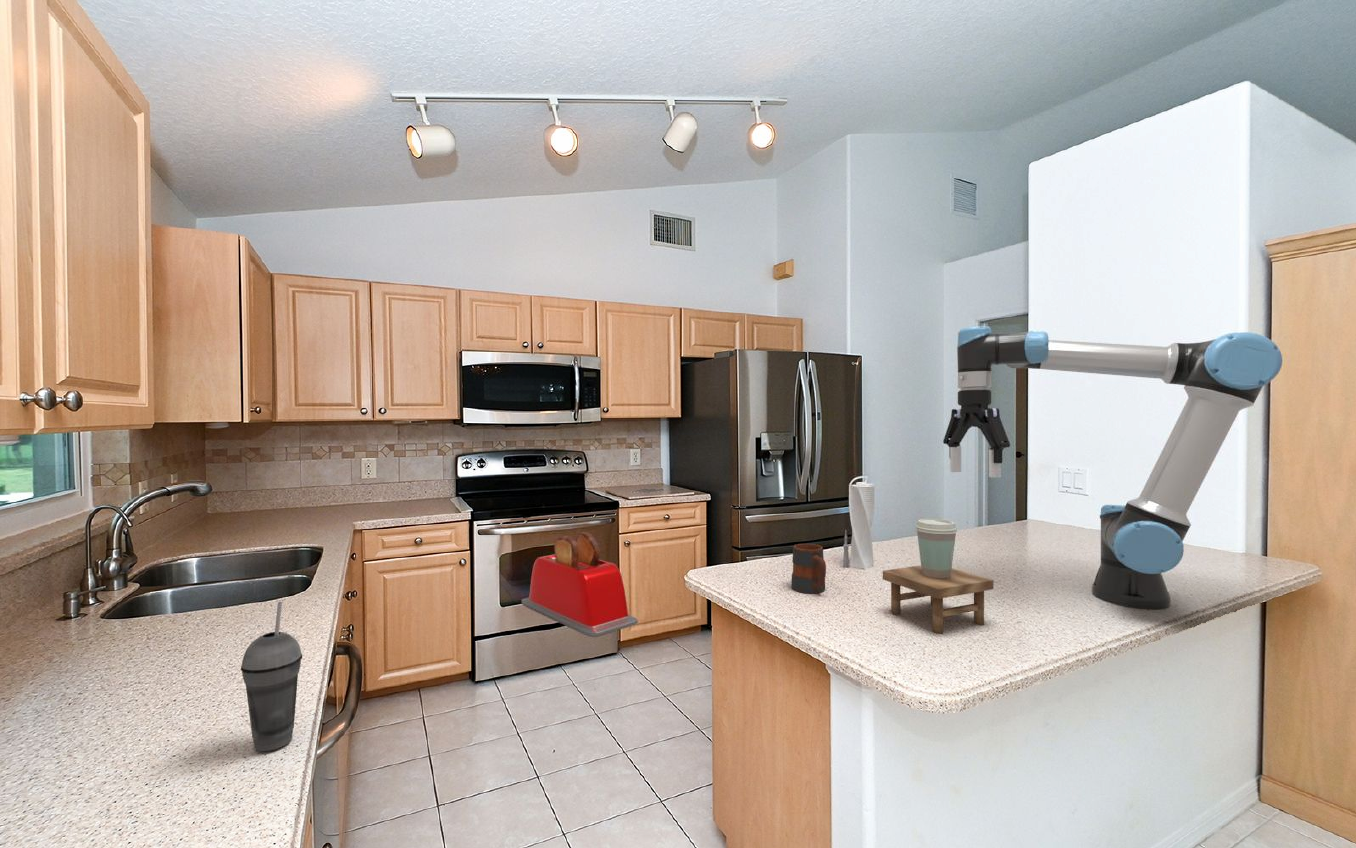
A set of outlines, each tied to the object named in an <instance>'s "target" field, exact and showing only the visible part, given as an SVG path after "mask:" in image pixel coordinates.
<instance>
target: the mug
mask: <svg viewBox="0 0 1356 848" xmlns="http://www.w3.org/2000/svg"><path fill="white" fill-rule="evenodd" d="M791 562H792V573H791V589H792V590H793V591H795V592H797V593H800V594H801V593H802V594H808V595H814V594H820V593H824V591H826V577H827V576H826V574H827V564H826V561H825V559H824V548H823V546H821V545H818V544H814V543H798V544H794V545H793V547H792V561H791Z"/></svg>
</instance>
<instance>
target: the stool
mask: <svg viewBox="0 0 1356 848" xmlns="http://www.w3.org/2000/svg"><path fill="white" fill-rule="evenodd" d="M882 580H883V581H886V582H889V583H890V590H891V591H890V595H891V596H890V606H891V607H890V608H891V609H890V611H891V612H890V613H891V614H892V615H895V616H898V615H901V601H907V600H912V599H914V600H915V599H919V598H925V597H930V606H931V607H932V632H933V634H937V635H943V634H944V618H945V617H950V616H955V615H961V614H966V613H971V612H973V624H975V625H978V626H984V625H985V592H987V591H992V590H994V587H995V586H994V585H995V584H994V579H991V578H988V577H984V576H981V575H976V574H973V573H970V572H966V571H962V570H961V569H960V570H959V569H956V568H952V569H951V577H950V578H945V579H937V578H930V577H926V576H924V575H923V574H922V568H921V564H919V565H913V566H907V567H900V568H893V569H886V570H882ZM901 587H903V588H906V589H909V590H912V591H910V592H909V591H908V592H903V593H901ZM969 594H973V603H969V604H965V605H959V606H953V607H947V608H944V599H947V598H951V597H958V596H964V595H969Z"/></svg>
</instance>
